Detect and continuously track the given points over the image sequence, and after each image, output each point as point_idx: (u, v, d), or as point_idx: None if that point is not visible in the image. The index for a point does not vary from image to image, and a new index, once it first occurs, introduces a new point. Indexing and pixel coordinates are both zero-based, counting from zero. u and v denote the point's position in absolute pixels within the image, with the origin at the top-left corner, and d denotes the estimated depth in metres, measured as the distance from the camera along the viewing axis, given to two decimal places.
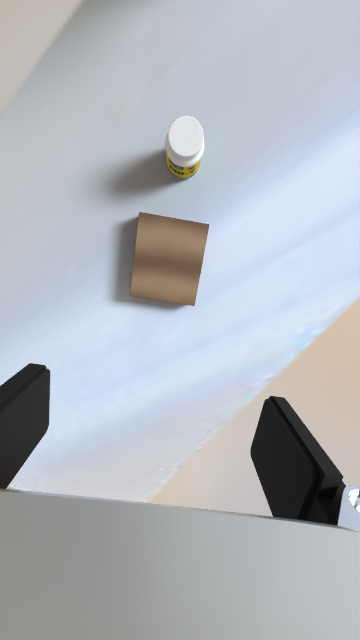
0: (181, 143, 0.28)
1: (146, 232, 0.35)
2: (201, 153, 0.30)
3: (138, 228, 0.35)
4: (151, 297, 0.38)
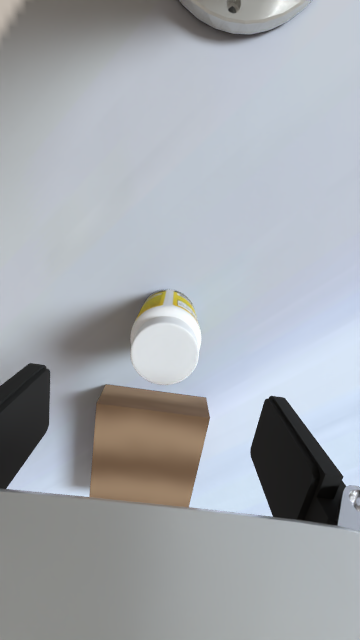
0: (157, 366, 0.14)
1: (109, 428, 0.22)
2: None
3: (96, 424, 0.22)
4: None
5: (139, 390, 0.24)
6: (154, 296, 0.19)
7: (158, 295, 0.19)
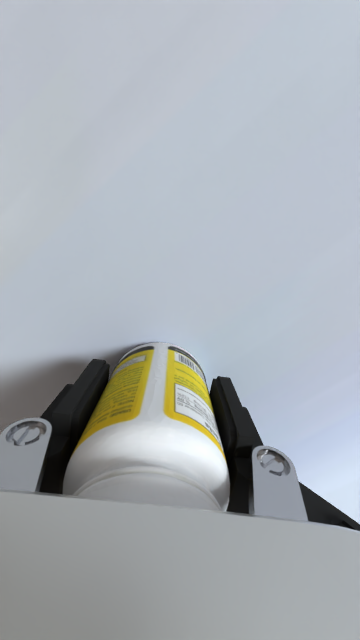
0: None
1: None
2: None
3: None
4: None
5: None
6: (130, 364, 0.10)
7: (138, 363, 0.10)
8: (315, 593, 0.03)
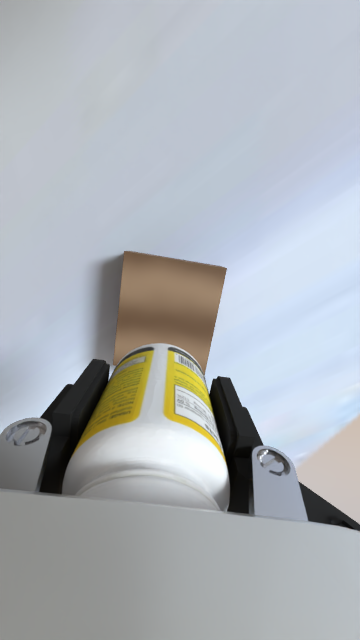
0: None
1: (135, 279, 0.24)
2: None
3: (123, 274, 0.24)
4: None
5: (160, 256, 0.26)
6: (130, 365, 0.10)
7: (137, 364, 0.10)
8: (315, 593, 0.03)
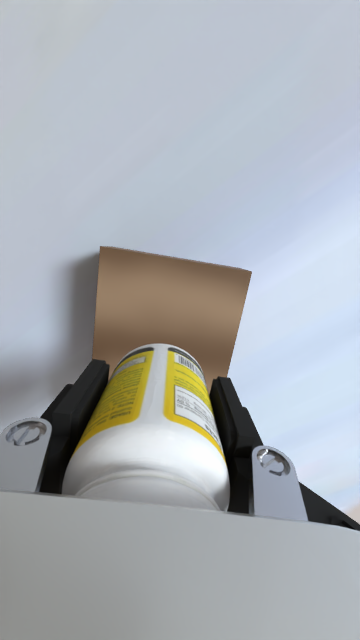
0: None
1: (117, 288, 0.17)
2: None
3: (100, 280, 0.16)
4: None
5: (155, 254, 0.19)
6: (130, 365, 0.10)
7: (137, 365, 0.10)
8: (315, 593, 0.03)
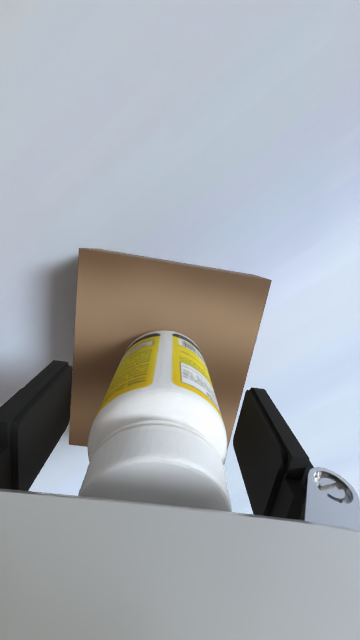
0: None
1: (102, 301, 0.13)
2: None
3: (79, 291, 0.13)
4: None
5: None
6: (140, 347, 0.11)
7: (146, 347, 0.11)
8: (315, 593, 0.03)
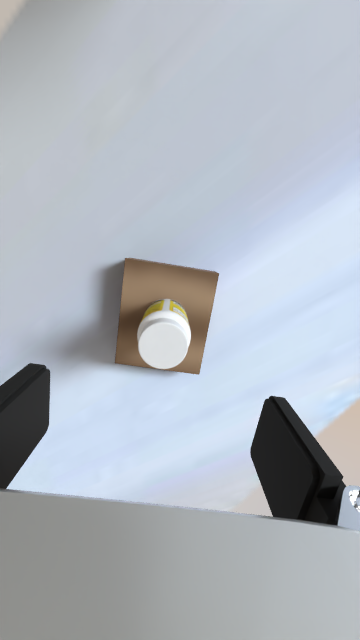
0: (157, 354, 0.20)
1: (135, 284, 0.26)
2: None
3: (124, 279, 0.26)
4: (143, 364, 0.29)
5: (158, 262, 0.29)
6: (155, 304, 0.25)
7: (158, 303, 0.25)
8: (315, 593, 0.03)
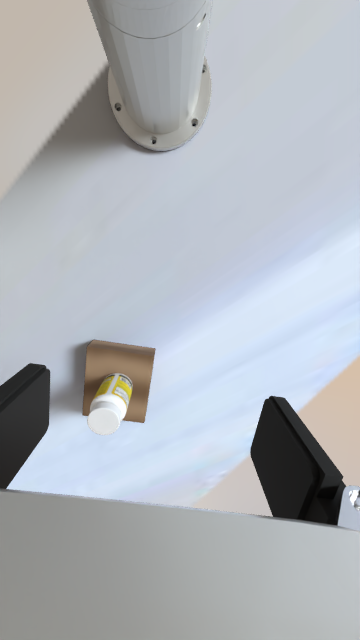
0: (100, 426, 0.31)
1: (94, 363, 0.37)
2: (123, 417, 0.33)
3: (87, 360, 0.37)
4: None
5: (113, 343, 0.39)
6: (106, 380, 0.36)
7: (108, 380, 0.36)
8: (315, 593, 0.03)
